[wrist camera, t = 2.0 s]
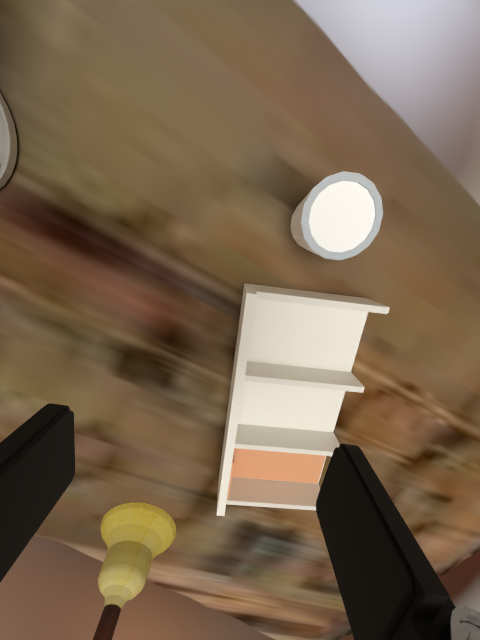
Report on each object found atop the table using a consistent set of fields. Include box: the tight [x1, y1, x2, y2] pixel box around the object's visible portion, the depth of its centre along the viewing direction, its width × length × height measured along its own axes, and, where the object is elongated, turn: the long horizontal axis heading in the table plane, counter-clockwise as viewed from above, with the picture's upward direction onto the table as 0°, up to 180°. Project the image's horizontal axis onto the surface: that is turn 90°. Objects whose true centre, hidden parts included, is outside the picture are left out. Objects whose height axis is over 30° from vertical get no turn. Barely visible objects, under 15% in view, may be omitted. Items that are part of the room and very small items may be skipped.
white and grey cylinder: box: [290, 171, 383, 260], centre depth 24 cm, size 7×7×7 cm
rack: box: [217, 283, 390, 516], centre depth 31 cm, size 29×15×6 cm, turn 173°
